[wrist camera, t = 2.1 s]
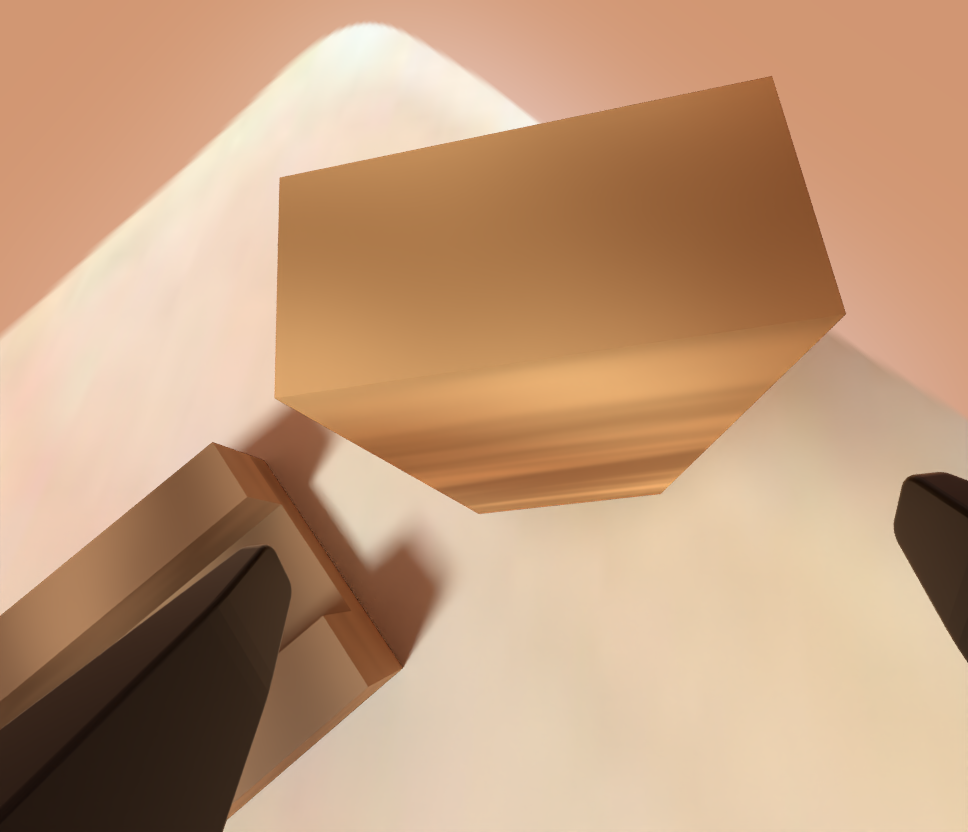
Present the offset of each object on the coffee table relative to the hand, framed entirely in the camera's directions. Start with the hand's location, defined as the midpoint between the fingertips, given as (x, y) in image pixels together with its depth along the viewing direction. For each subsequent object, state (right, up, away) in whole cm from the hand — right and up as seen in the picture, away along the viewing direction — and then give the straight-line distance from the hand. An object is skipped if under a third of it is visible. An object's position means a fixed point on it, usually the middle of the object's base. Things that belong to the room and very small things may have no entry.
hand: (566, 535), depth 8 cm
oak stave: (+1, 0, +11) cm, 11 cm away
